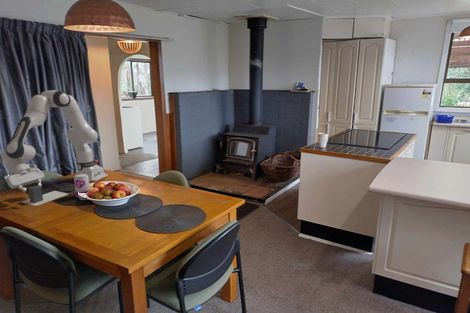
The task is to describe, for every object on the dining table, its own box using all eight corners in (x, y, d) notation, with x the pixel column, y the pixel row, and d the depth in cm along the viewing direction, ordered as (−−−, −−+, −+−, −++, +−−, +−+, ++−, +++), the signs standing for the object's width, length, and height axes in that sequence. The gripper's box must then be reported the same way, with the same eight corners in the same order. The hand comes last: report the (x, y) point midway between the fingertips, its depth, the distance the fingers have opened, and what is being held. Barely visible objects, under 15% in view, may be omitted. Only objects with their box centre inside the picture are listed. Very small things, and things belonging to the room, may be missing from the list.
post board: (55, 192, 219) (53, 180, 217) (69, 196, 213) (67, 183, 211) (21, 204, 200) (19, 191, 197) (36, 208, 193) (34, 194, 191)
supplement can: (87, 200, 206) (84, 177, 202) (74, 200, 206) (71, 177, 202) (92, 195, 213) (90, 173, 210) (80, 195, 214) (77, 173, 210)
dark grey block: (38, 199, 204) (35, 185, 202) (43, 200, 202) (41, 186, 199) (30, 201, 199) (27, 188, 197) (35, 203, 197) (33, 189, 195)
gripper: (4, 172, 191) (17, 191, 189) (38, 164, 209) (50, 180, 207) (1, 179, 194) (14, 197, 192) (34, 170, 212) (46, 186, 210)
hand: (33, 188), depth 200 cm, fingers open, 8 cm apart
